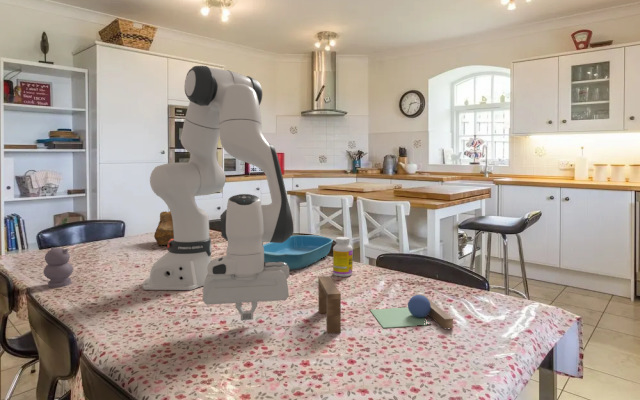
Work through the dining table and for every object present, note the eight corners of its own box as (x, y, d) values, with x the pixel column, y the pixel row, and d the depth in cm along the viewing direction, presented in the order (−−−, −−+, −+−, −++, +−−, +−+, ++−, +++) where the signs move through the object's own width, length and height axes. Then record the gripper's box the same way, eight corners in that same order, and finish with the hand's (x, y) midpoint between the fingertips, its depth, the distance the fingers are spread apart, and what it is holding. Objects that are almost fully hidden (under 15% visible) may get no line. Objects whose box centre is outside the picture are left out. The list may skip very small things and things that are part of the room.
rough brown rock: (142, 246, 200) (139, 215, 197) (171, 237, 213) (169, 208, 211) (174, 254, 187) (171, 221, 184) (203, 244, 201) (201, 213, 198)
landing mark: (383, 328, 101) (383, 327, 101) (369, 310, 113) (369, 309, 113) (431, 324, 103) (431, 324, 103) (413, 307, 115) (413, 306, 115)
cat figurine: (38, 286, 135) (35, 249, 134) (60, 279, 143) (58, 244, 141) (57, 289, 132) (55, 251, 131) (79, 282, 140) (77, 246, 138)
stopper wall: (444, 329, 100) (445, 319, 100) (416, 303, 118) (416, 294, 118) (452, 328, 100) (453, 318, 100) (422, 303, 118) (423, 294, 118)
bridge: (327, 333, 98) (327, 294, 97) (318, 311, 113) (318, 276, 112) (340, 332, 99) (340, 293, 98) (329, 310, 113) (329, 276, 112)
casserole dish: (298, 275, 147) (298, 255, 147) (245, 268, 157) (245, 249, 156) (340, 253, 180) (340, 237, 180) (294, 249, 190) (294, 233, 189)
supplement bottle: (351, 277, 143) (351, 240, 142) (331, 276, 145) (331, 239, 143) (353, 272, 150) (353, 236, 148) (334, 271, 151) (334, 235, 150)
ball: (436, 301, 105) (430, 323, 105) (429, 295, 110) (423, 315, 111) (414, 296, 105) (408, 317, 105) (408, 289, 110) (403, 310, 111)
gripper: (288, 258, 106) (288, 311, 108) (203, 261, 103) (205, 317, 104) (290, 264, 100) (291, 321, 101) (200, 268, 97) (202, 327, 98)
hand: (247, 319), depth 103 cm, fingers closed
